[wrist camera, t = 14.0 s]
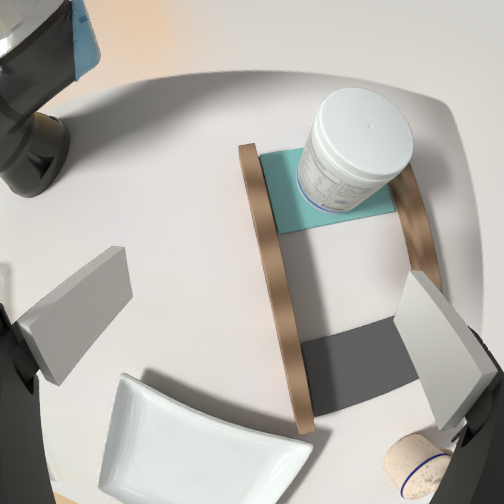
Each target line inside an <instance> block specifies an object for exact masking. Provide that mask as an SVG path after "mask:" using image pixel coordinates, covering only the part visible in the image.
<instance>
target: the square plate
mask: <svg viewBox="0 0 504 504" xmlns="http://www.w3.org/2000/svg"><path fill="white" fill-rule="evenodd" d="M313 448H314V446H313V444H311V443H309V442H306V441H302V440H297V439H293V438H288V437H284V436H279V435H275V434H270V433H266V432H262V431H258V430H254V429H250V428H247V427H244V426H240V425H237V424H234V423H231V422H228V421H225V420H222V419H219V418H217V417H214V416H211V415H209V414H206V413H204V412H201V411H199V410H197V409H194V408H192V407H190V406H188V405H185V404H183V403H181V402H179V401H177V400H175V399H173V398H171V397H169V396H167V395H165V394H164V393H162V392H160V391H158V390H156V389H154V388H152V387H150V386H149V385H147V384H145V383H143V382H141V381H139V380H138V379H136V378H134V377H132V376H130V375H128V374H125V373H122V374H120V376H119V379H118V381H117V385H116V389H115V393H114V397H113V402H112V406H111V411H110V416H109V421H108V426H107V431H106V436H105V441H104V447H103V451H102V456H101V461H100V466H99V471H98V477H97V488H98V489H99V490H100V491H102V492H104V493H105V494H107V495H109V496H111V497H113V498H114V499H116V500H118V501H120V502H122V503H124V504H276V502H277V501H278V500H279V499H280V497H281V496H282V495H283V493H284V492H285V491H286V489H287V488H288V487H289V485H290V484H291V483H292V481H293V480H294V478H295V477H296V476H297V474H298V473H299V471H300V470H301V468H302V467H303V465H304V464H305V462H306V461H307V459H308V457H309V456H310V454H311V452H312V450H313Z"/></svg>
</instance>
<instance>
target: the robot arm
mask: <svg viewBox="0 0 504 504" xmlns="http://www.w3.org/2000/svg"><path fill="white" fill-rule="evenodd" d="M100 56H101V54H100V49H99V46H98V43H97V40H96V37H95V34H94V31H93V28H92V25H91V22H90V19H89V16H88V12H87V9H86V6H85V4H84V1H83V0H71V1H69V0H0V177H1V178H2V179H3V180H4V181H5V183H6V184H7V185H8V186H9V188H10V189H11V190H12V191H13V192H14V193H15V194H18V195H20V196H22V197H25V198H30V197H34V196H36V195H38V194H39V193H41V192H42V191H43V190H45V189H46V188H47V187H48V186H49V185H50V184H51V182H52V181H53V180H54V178H55V177H56V176H57V174H58V172H59V171H60V169H61V167H62V165H63V163H64V160H65V158H66V155H67V152H68V148H69V131H68V129H67V127H66V125H65V124H63V123H62V122H61V121H60V120H59V119H58V118H56V117H53V116H48V115H45V114H42V113H38V112H36V111H37V110H38V109H39V108H41V107H42V106H43V105H44V104H46V102H48V101H49V100H50V99H52V98H53V97H54V96H55V95H57V94H58V93H59V92H61V91H62V90H63V89H65V88H66V87H67V86H69V85H70V84H71V83H73V82H74V81H75V82H77V81H78V80H79V78H80V77H82V76H83V75H84V74H86V73H87V72H88V71H90V70H91V69H93V68H94V67H95V66H96V65H97V64H98V63H99V60H100ZM132 297H133V295H132V290H131V284H130V278H129V273H128V266H127V260H126V253H125V247H117V246H111V247H110V248H109V249H107V250H106V251H104V252H103V253H102V254H100V255H99V256H97V257H96V258H95V259H93V260H92V261H90V262H89V263H88V264H86V265H85V266H84V267H82V268H81V269H80V270H78V271H77V272H76V273H74V274H73V275H72V276H70V277H69V278H68V279H67V280H65V281H64V282H63V283H61V284H60V285H59V286H58V287H56V288H55V289H54V290H53V291H51V292H50V293H49V294H47V295H46V296H45V297H44V298H42V299H41V300H40V301H39V302H38V303H36V304H35V305H34V306H33V307H32V308H30V309H29V310H28V311H27V312H26V313H25V314H24V315H22V316H21V317H20V318H19V319H18V320H17V321H16V322H14V323H13V324H12V325H11V323H10V321H9V318H8V316H7V314H6V311H5V309H4V306H3V305H2V303H0V504H56V502H55V498H54V495H53V491H52V487H51V483H50V478H49V473H48V469H47V463H46V458H45V452H44V445H43V437H42V428H41V417H40V401H39V379H38V376H37V374H36V372H37V371H38V370H39V369H40V370H41V372H42V374H43V375H44V377H45V379H46V380H47V381H49V382H51V383H53V384H55V385H57V386H60V385H61V384H62V382H63V381H64V380H65V378H66V377H67V376H68V374H69V373H70V372H71V371H72V369H73V368H74V367H75V365H76V364H77V363H78V362H79V360H80V359H81V358H82V357H83V355H84V354H85V353H86V352H87V350H88V349H89V348H90V347H91V346H92V344H93V343H94V342H95V341H96V339H97V338H98V337H99V336H100V335H101V333H102V332H103V331H104V330H105V329H106V327H107V326H108V325H109V324H110V323H111V322H112V320H113V319H114V318H115V317H116V316H117V315H118V313H119V312H120V311H121V310H122V309H123V308H124V307H125V305H126V304H127V303H128V302H129V301H130V300H131V299H132ZM393 321H394V323H395V325H396V327H397V329H398V331H399V333H400V336H401V338H402V340H403V342H404V344H405V346H406V349H407V351H408V353H409V355H410V358H411V360H412V362H413V364H414V367H415V369H416V371H417V374H418V376H419V379H420V381H421V384H422V386H423V389H424V391H425V394H426V396H427V399H428V401H429V404H430V407H431V409H432V412H433V415H434V418H435V421H436V424H437V426H438V429H439V431H442V430H446V429H450V428H453V427H456V426H457V425H458V423H459V422H460V421H461V420H462V419H463V418H464V416H465V418H466V421H467V423H466V425H465V426H464V427H463V428H462V429H461V430H460V431H459V432H458V433H457V434H456V435H455V437H454V438H453V439H452V441H451V442H454V441H455V440H456V439H457V438H458V437H459V440H458V442H457V445H456V448H455V450H454V453H453V455H452V458H451V460H450V463H449V465H448V467H447V469H446V472H445V474H444V476H443V478H442V480H441V482H440V484H439V486H438V488H437V490H436V492H435V494H434V496H433V498H432V499H431V501H430V503H429V504H504V372H503V371H502V369H501V367H500V366H499V364H498V363H497V361H496V360H495V358H494V357H493V355H492V354H491V352H490V351H489V350H488V348H487V346H486V345H485V344H483V341H482V339H481V338H480V337H479V335H478V334H477V333H476V332H475V331H474V330H473V329H471V328H470V327H469V326H467V325H466V324H465V322H464V321H463V320H462V318H461V317H460V316H459V314H458V313H457V312H456V310H455V309H454V308H453V307H452V305H451V304H450V303H449V302H448V300H447V299H446V298H445V297H444V296H443V294H442V293H441V292H440V291H439V290H438V288H437V287H436V286H435V285H434V284H433V282H432V281H431V280H430V279H429V278H428V277H427V276H426V274H425V273H424V272H423V271H416V270H409V272H408V275H407V279H406V282H405V286H404V289H403V292H402V296H401V299H400V302H399V305H398V308H397V311H396V314H395V317H394V320H393Z"/></svg>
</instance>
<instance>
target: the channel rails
mask: <svg viewBox="0 0 504 504" xmlns="http://www.w3.org/2000/svg"><path fill="white" fill-rule="evenodd" d="M238 148H239V159H240V164H241V168H242V173H243V177H244V182H245V187H246V191H247V196H248V200H249V205H250V209H251V214H252V218H253V223H254V228H255V232H256V237H257V241H258V246H259V251H260V255H261V260H262V265H263V269H264V274H265V279H266V283H267V288H268V293H269V297H270V302H271V307H272V312H273V316H274V321H275V326H276V331H277V335H278V340H279V345H280V350H281V355H282V359H283V364H284V369H285V374H286V379H287V384H288V389H289V394H290V398H291V403H292V408H293V413H294V418H295V422H296V425H297V428H298V431H299V434H300V435H301V434H305V433H309V432H313V431H315V425H314V419H313V413H312V407H311V401H310V396H309V390H308V385H307V379H306V374H305V368H304V363H303V358H302V353H301V347H300V342H299V337H298V332H297V327H296V322H295V317H294V312H293V307H292V303H291V298H290V293H289V288H288V284H287V279H286V274H285V270H284V265H283V261H282V256H281V251H280V247H279V243H278V238H277V234H276V229H275V225H274V221H273V216H272V212H271V208H270V204H269V199H268V195H267V191H266V187H265V183H264V179H263V174H262V170H261V166H260V162H259V158H258V154H257V150H256V146H255V143H251V144H246V145H240V146H238ZM389 184H390V187H391V190H392V193H393V196H394V200H395V203H396V206H397V210H398V213H399V217H400V221H401V225H402V228H403V232H404V236H405V241H406V245H407V249H408V254H409V258H410V263H411V268H412V270H416V271H423V272H424V273H425V274H426V276H427V277H428V278H429V279H430V280H431V281H432V282H433V284H434V285H435V286H436V287H437V288H438V290H439V291H440V292H441V293H442V294H443V292H442V286H441V279H440V273H439V268H438V262H437V257H436V252H435V248H434V243H433V239H432V235H431V230H430V226H429V223H428V219H427V215H426V211H425V208H424V205H423V201H422V198H421V195H420V191H419V188H418V185H417V182H416V179H415V176H414V173H413V171H412V168H411V165H410V162H409V163H408V164H407V166H406V167H405V168H404V169H403V170H402V171H401V172H400V173H399V174H398V175H397V176H396V177H395V178H393V179H392V180H391V181H389Z"/></svg>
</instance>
